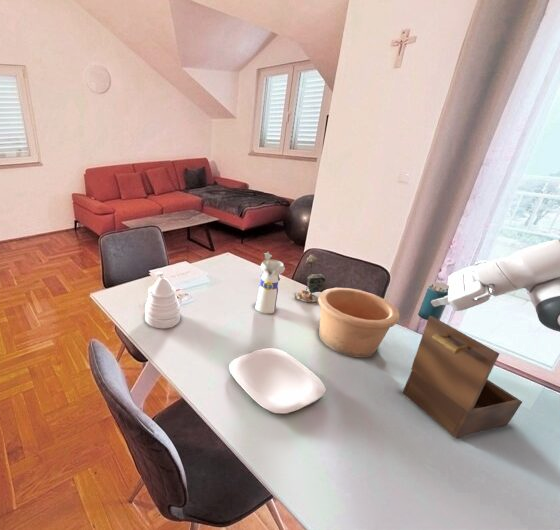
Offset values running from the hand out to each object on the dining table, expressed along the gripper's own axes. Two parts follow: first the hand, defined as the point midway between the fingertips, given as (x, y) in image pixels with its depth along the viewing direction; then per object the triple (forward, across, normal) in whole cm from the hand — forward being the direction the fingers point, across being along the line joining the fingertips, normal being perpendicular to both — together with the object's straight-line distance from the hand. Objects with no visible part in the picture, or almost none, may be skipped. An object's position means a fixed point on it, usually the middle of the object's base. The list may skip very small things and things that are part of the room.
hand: (432, 299), depth 93 cm
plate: (+33, -43, +8) cm, 55 cm away
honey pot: (+64, -39, +39) cm, 84 cm away
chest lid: (-2, -29, -4) cm, 30 cm away
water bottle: (+45, -8, +20) cm, 50 cm away
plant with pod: (+38, +10, +13) cm, 41 cm away
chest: (+6, -23, -19) cm, 31 cm away
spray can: (+4, 0, -5) cm, 6 cm away
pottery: (+25, -10, 0) cm, 27 cm away
